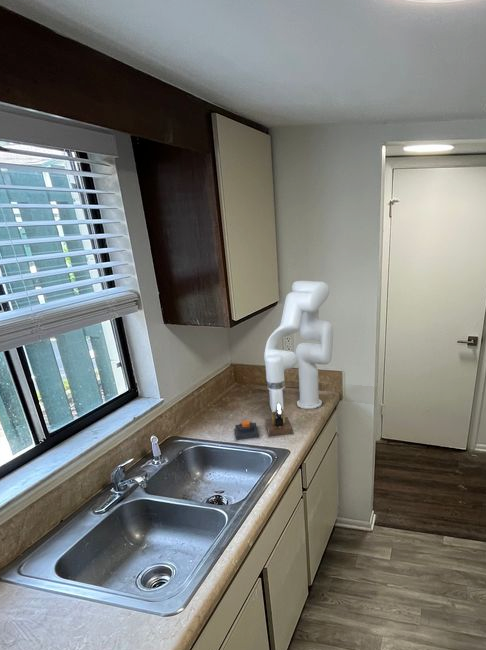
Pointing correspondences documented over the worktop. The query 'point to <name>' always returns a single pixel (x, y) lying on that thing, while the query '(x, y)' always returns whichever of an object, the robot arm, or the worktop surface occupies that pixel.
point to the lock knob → (275, 417)
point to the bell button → (245, 423)
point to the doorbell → (246, 431)
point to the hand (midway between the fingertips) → (278, 422)
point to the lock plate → (278, 428)
